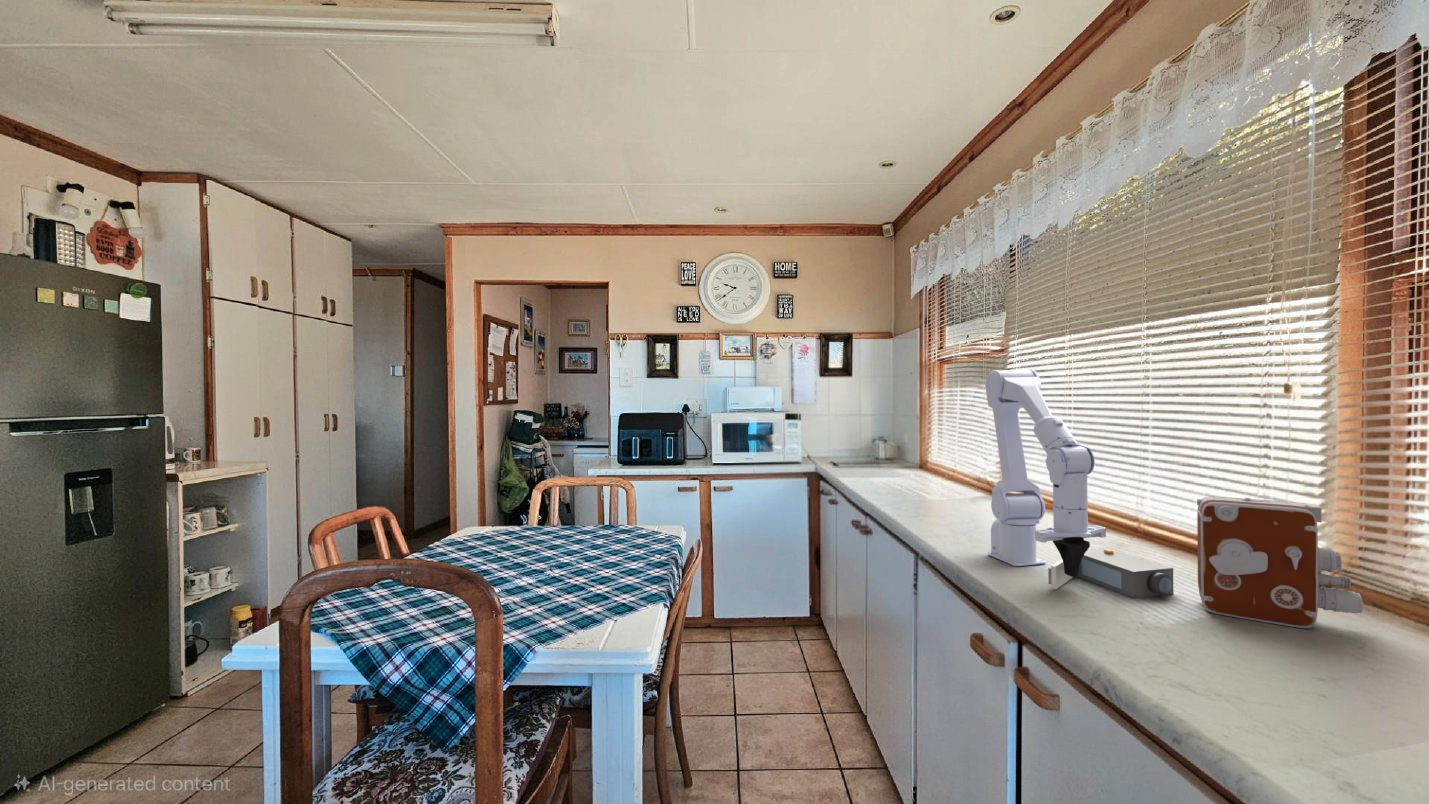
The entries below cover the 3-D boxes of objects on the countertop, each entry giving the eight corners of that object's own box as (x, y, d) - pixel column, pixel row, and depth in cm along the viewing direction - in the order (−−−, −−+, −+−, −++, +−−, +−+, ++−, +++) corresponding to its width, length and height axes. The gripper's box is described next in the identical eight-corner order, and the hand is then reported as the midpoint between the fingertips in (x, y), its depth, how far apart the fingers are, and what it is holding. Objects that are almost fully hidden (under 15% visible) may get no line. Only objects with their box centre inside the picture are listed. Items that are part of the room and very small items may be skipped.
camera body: (1072, 574, 117) (1071, 548, 117) (1108, 571, 119) (1108, 545, 119) (1142, 602, 102) (1142, 571, 102) (1183, 597, 103) (1183, 567, 103)
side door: (1069, 573, 117) (1068, 551, 117) (1076, 574, 116) (1076, 553, 116) (1048, 587, 109) (1047, 564, 109) (1055, 589, 108) (1055, 566, 108)
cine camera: (1371, 643, 84) (1370, 512, 84) (1201, 615, 96) (1200, 499, 95) (1351, 622, 91) (1351, 502, 91) (1196, 598, 103) (1195, 491, 103)
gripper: (1054, 513, 104) (1055, 585, 104) (1119, 508, 106) (1120, 578, 107) (1026, 506, 111) (1027, 573, 111) (1088, 501, 113) (1089, 567, 114)
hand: (1071, 575), depth 109 cm, fingers closed, pressing on side door
